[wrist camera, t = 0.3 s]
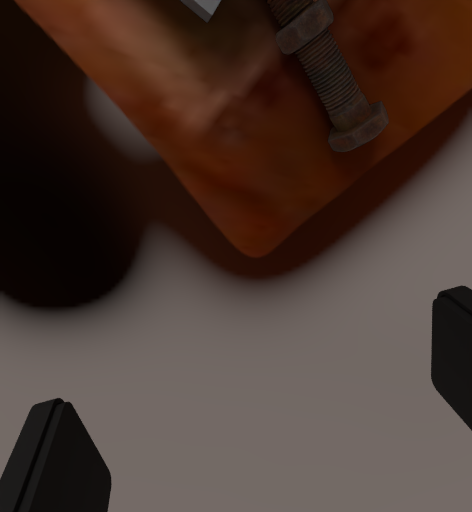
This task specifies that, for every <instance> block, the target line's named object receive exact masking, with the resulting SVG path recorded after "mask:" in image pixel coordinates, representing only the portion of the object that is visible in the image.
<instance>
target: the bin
mask: <svg viewBox="0 0 472 512" xmlns="http://www.w3.org/2000/svg"><path fill="white" fill-rule="evenodd" d="M180 1H181V2H182V3H184V4H185V5H186V6H187V7H188V8H190V9H191V10H192V11H193V12H195V13H196V14H197V15H198V16H199V17H201V18H202V19H203V20H204V21H206V22H207V23H208V21H209V20H210V18H211V16H212V15H213V13H214V11H215V10H216V8H217V6H218V4H219V3H220V1H221V0H180Z"/></svg>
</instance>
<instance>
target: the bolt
mask: <svg viewBox="0 0 472 512" xmlns="http://www.w3.org/2000/svg"><path fill="white" fill-rule="evenodd" d="M267 3H268V4H270V5H269V8H272V10H271V12H274V16H277V17H276V20H279V22H278V23H279V24H281V26H280V27H281V28H282V29H281V30H280V31H278V32H277V33H276V42H277V44H278V46H279V47H280V49H281V51H282V53H283V54H287V55H289V54H291V53H293V52H295V51H296V52H295V54H298V55H297V58H300V59H299V61H302V63H301V65H304V66H303V69H306V70H305V72H308V74H307V76H310V77H309V79H311V83H313V86H315V88H314V89H315V90H316V89H317V91H316V92H317V93H319V94H318V96H321V97H320V99H321V100H322V103H324V106H326V108H325V109H326V110H327V112H328V113H329V118H330V119H331V121H332V123H333V125H334V127H333V128H332V129H331V131H330V134H329V138H328V142H329V144H330V146H331V148H332V149H333V151H338V152H346V151H350V150H352V149H355V148H357V147H359V146H361V145H363V144H365V143H367V142H369V141H370V140H372V139H373V138H375V137H376V136H377V135H378V134H379V133H380V132H381V131H382V130H383V129H384V128H385V127H386V125H387V124H388V115H387V111H386V109H385V107H384V105H383V103H382V101H380V102H377V103H374V104H371V105H369V103H368V101H367V100H366V98H365V96H364V94H363V93H362V92H361V91H360V88H358V85H357V84H356V81H354V80H355V78H352V77H353V75H352V74H351V70H349V67H348V66H347V63H345V62H346V61H345V60H343V59H344V57H343V56H341V55H342V53H339V51H340V49H337V48H338V45H335V44H336V42H335V41H333V40H334V38H331V36H332V34H329V32H330V30H327V29H328V26H329V25H330V24H331V23H332V22H333V13H332V11H331V9H330V7H329V5H328V3H327V1H326V0H318V1H316V2H313V0H267Z"/></svg>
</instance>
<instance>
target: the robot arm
mask: <svg viewBox="0 0 472 512" xmlns="http://www.w3.org/2000/svg"><path fill="white" fill-rule="evenodd" d="M432 307H433V308H432V360H431V379H432V382H433V385H434V386H435V388H436V390H437V391H438V392H439V393H440V395H441V396H442V397H443V398H444V399H445V400H446V402H447V403H448V404H449V405H450V406H451V407H452V408H453V410H454V411H455V412H456V413H457V414H458V415H459V416H460V417H461V418H462V419H463V421H464V422H465V423H466V424H467V425H468V427H469V428H470V429H471V430H472V290H471V289H469V288H468V287H466V286H458V287H455V288H451V289H448V290H444V291H441V292H439V294H438V296H437V299H435V300H434V301H433V306H432ZM110 491H111V475H110V472H109V469H108V467H107V466H106V464H105V462H104V460H103V459H102V457H101V455H100V453H99V451H98V450H97V448H96V446H95V444H94V442H93V441H92V439H91V437H90V435H89V434H88V432H87V430H86V428H85V427H84V425H83V423H82V421H81V419H80V418H79V416H78V414H77V413H76V411H75V409H74V407H73V405H72V404H71V403H70V402H64V401H63V400H62V399H61V398H57V399H53V400H49V401H46V402H42V403H38V404H35V405H34V406H33V407H32V408H31V410H30V412H29V414H28V417H27V419H26V421H25V424H24V426H23V428H22V430H21V433H20V435H19V437H18V440H17V442H16V444H15V447H14V449H13V451H12V453H11V456H10V458H9V460H8V463H7V465H6V467H5V470H4V472H3V474H2V477H1V479H0V512H107V511H108V504H109V498H110Z"/></svg>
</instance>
